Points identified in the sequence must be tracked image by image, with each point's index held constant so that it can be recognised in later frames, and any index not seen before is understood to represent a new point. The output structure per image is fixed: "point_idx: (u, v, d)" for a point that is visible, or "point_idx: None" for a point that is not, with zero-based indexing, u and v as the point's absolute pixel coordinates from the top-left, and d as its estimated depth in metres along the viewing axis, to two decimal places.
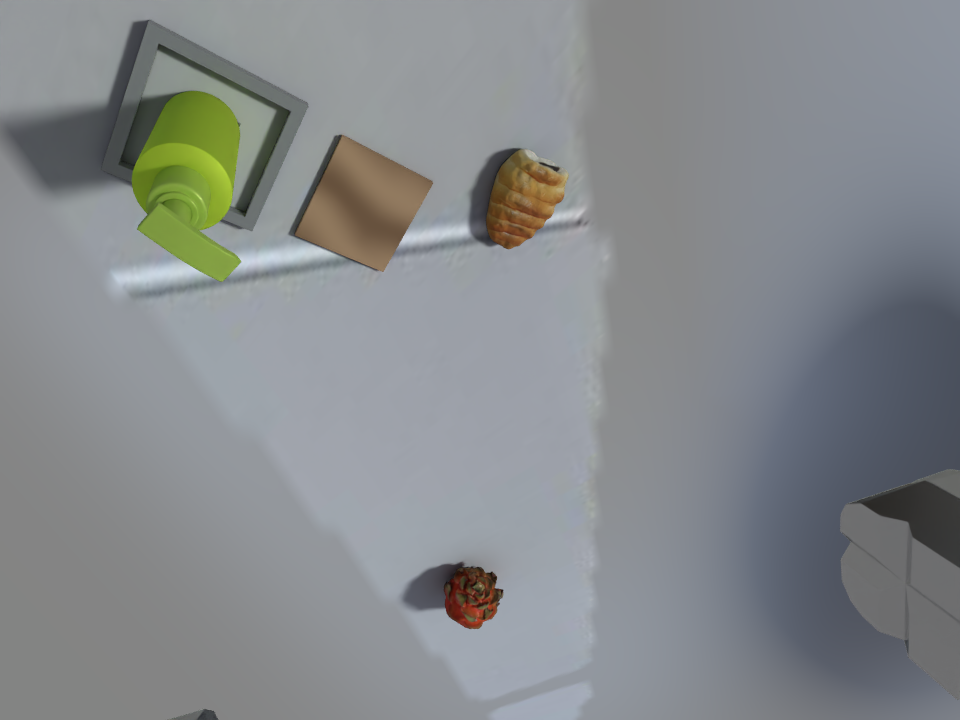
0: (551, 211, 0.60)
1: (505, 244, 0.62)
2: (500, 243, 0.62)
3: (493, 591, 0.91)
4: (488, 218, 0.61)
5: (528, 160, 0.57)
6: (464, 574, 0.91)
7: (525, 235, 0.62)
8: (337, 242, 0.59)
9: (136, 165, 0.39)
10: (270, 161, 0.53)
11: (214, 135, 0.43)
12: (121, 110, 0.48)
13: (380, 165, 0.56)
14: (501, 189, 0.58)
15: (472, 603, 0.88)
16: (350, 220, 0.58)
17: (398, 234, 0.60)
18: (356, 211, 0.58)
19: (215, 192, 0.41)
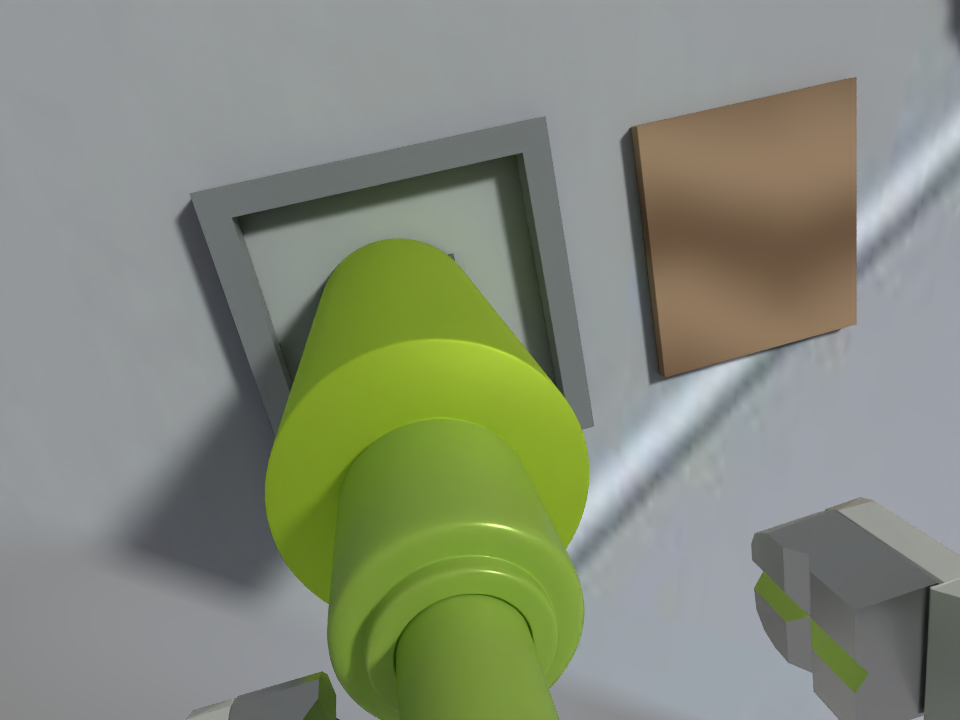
0: None
1: None
2: None
3: None
4: None
5: None
6: None
7: None
8: (745, 332, 0.26)
9: (272, 525, 0.11)
10: (546, 277, 0.23)
11: (418, 289, 0.14)
12: (260, 386, 0.22)
13: (737, 124, 0.24)
14: None
15: None
16: (744, 274, 0.26)
17: (845, 232, 0.26)
18: (745, 250, 0.25)
19: (525, 440, 0.11)
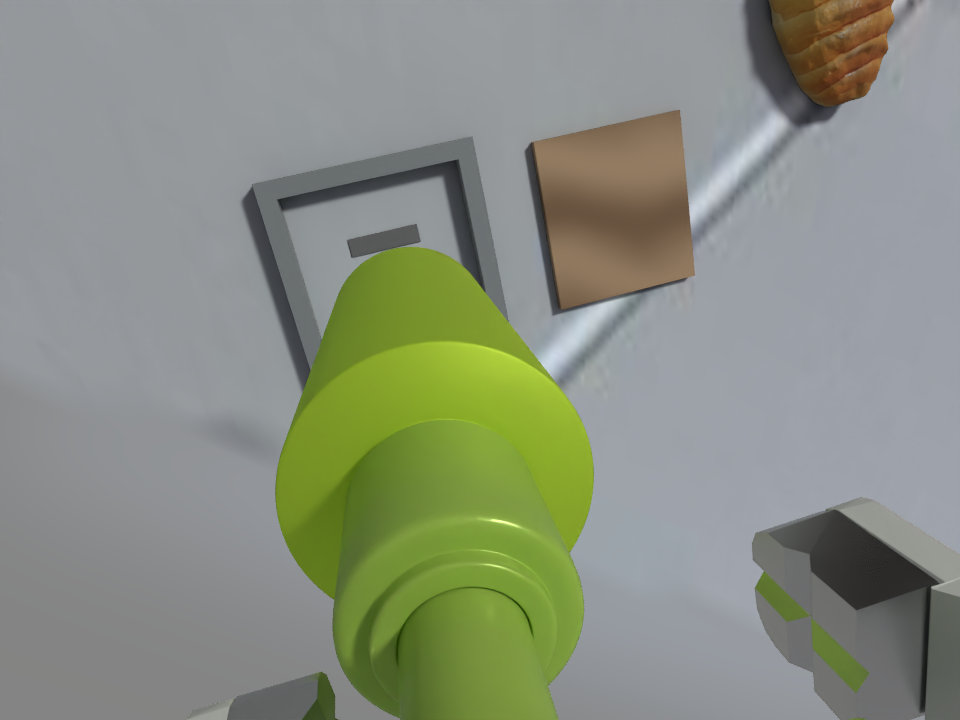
0: None
1: (858, 90, 0.37)
2: (849, 97, 0.38)
3: None
4: (806, 81, 0.38)
5: None
6: None
7: (878, 53, 0.36)
8: (615, 280, 0.39)
9: (283, 523, 0.11)
10: (476, 239, 0.36)
11: (427, 295, 0.15)
12: (292, 307, 0.35)
13: (601, 140, 0.37)
14: (798, 23, 0.35)
15: None
16: (612, 239, 0.38)
17: (681, 212, 0.39)
18: (611, 223, 0.38)
19: (530, 441, 0.11)
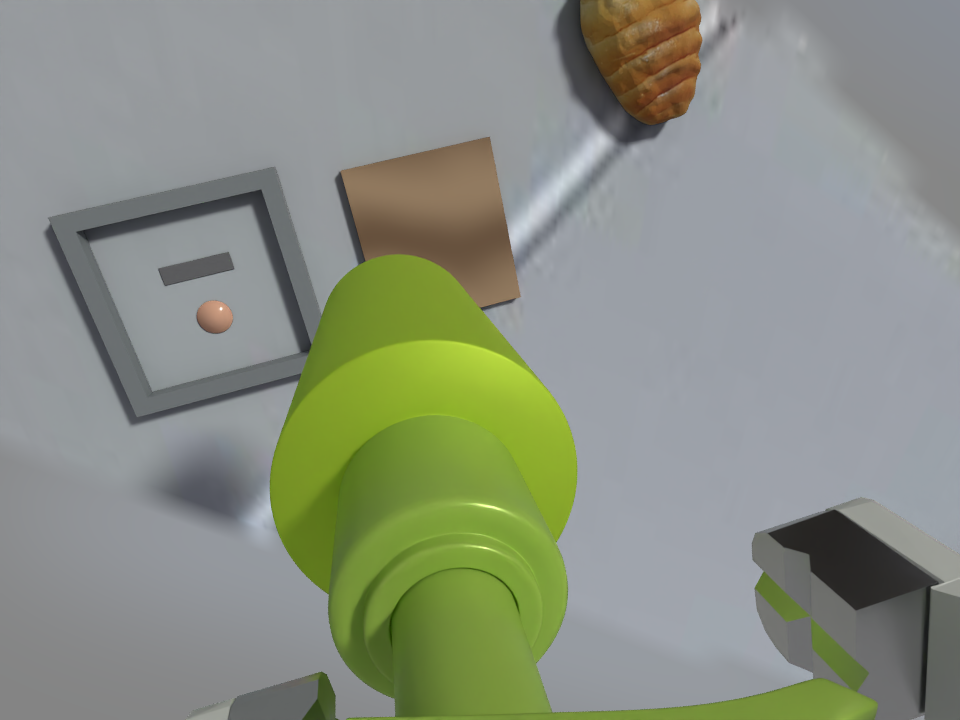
0: (694, 6, 0.35)
1: (675, 109, 0.38)
2: (667, 116, 0.38)
3: None
4: (624, 102, 0.38)
5: None
6: None
7: (689, 73, 0.37)
8: None
9: (277, 517, 0.12)
10: (287, 267, 0.37)
11: (416, 298, 0.15)
12: (103, 336, 0.36)
13: (410, 168, 0.37)
14: (605, 47, 0.36)
15: None
16: None
17: (500, 235, 0.39)
18: (429, 248, 0.39)
19: (516, 436, 0.12)
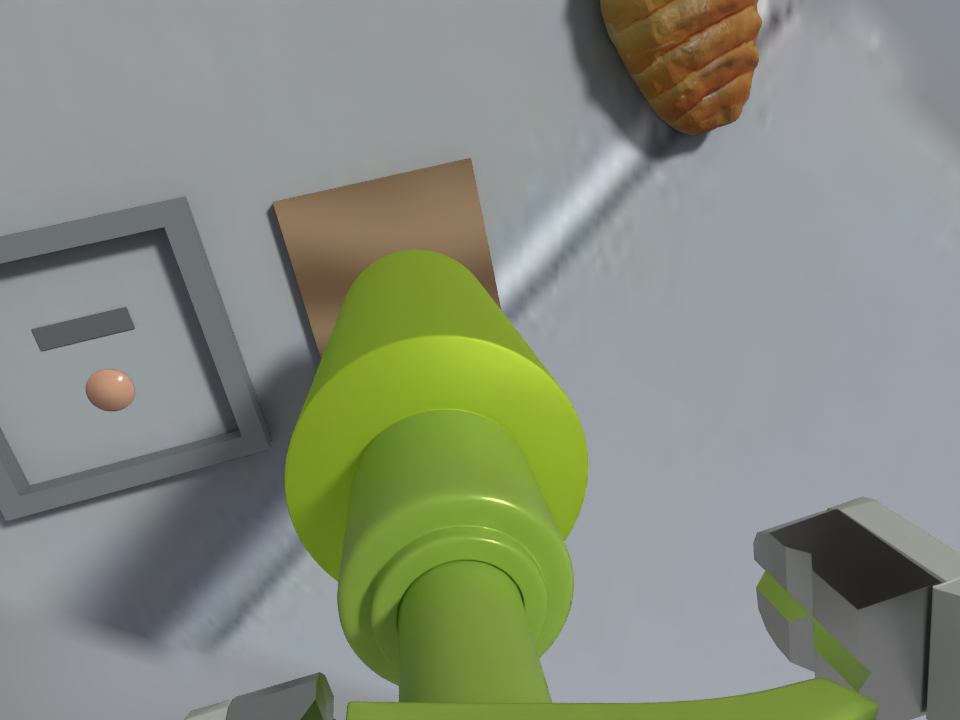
0: None
1: (725, 115, 0.29)
2: (715, 123, 0.29)
3: None
4: (658, 106, 0.29)
5: None
6: None
7: (745, 66, 0.28)
8: None
9: (291, 507, 0.12)
10: (203, 327, 0.28)
11: (432, 294, 0.15)
12: None
13: (366, 199, 0.28)
14: (633, 35, 0.27)
15: None
16: None
17: (485, 284, 0.31)
18: None
19: (527, 432, 0.12)
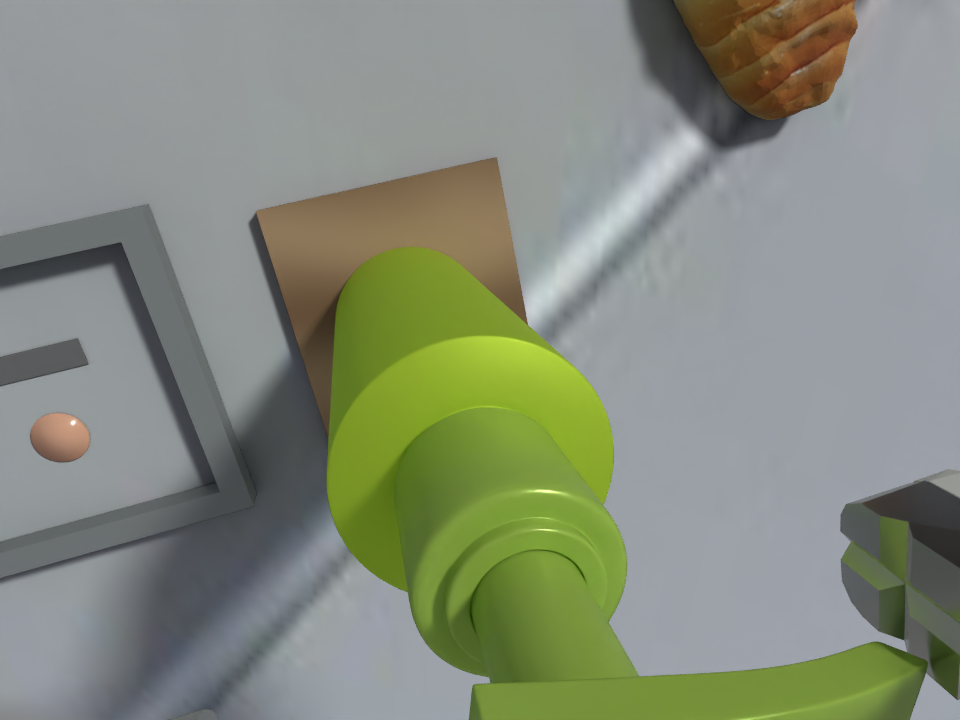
0: None
1: (815, 94, 0.24)
2: (802, 105, 0.24)
3: None
4: (733, 86, 0.24)
5: None
6: None
7: (842, 34, 0.23)
8: None
9: (333, 505, 0.12)
10: (171, 363, 0.23)
11: (449, 293, 0.16)
12: None
13: (370, 207, 0.23)
14: None
15: None
16: None
17: (512, 308, 0.26)
18: None
19: (560, 426, 0.12)
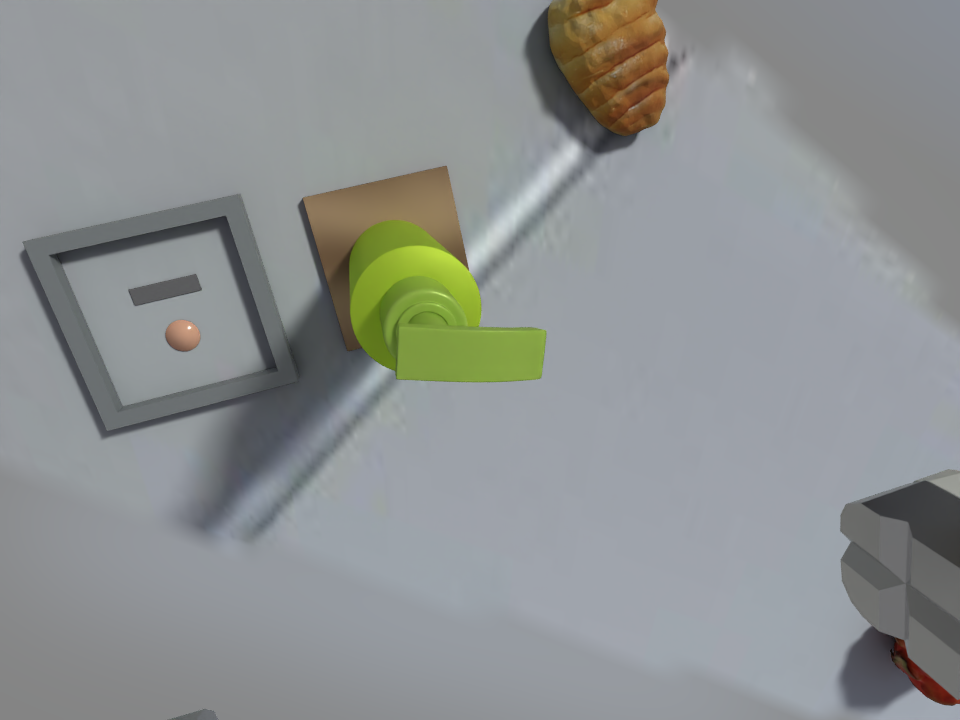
0: (657, 21, 0.37)
1: (647, 120, 0.40)
2: (640, 126, 0.40)
3: None
4: (597, 116, 0.40)
5: None
6: None
7: (658, 84, 0.39)
8: None
9: (353, 321, 0.28)
10: (252, 288, 0.39)
11: (409, 235, 0.31)
12: (74, 353, 0.38)
13: (370, 195, 0.39)
14: (574, 67, 0.38)
15: None
16: None
17: (458, 259, 0.41)
18: None
19: (453, 287, 0.28)
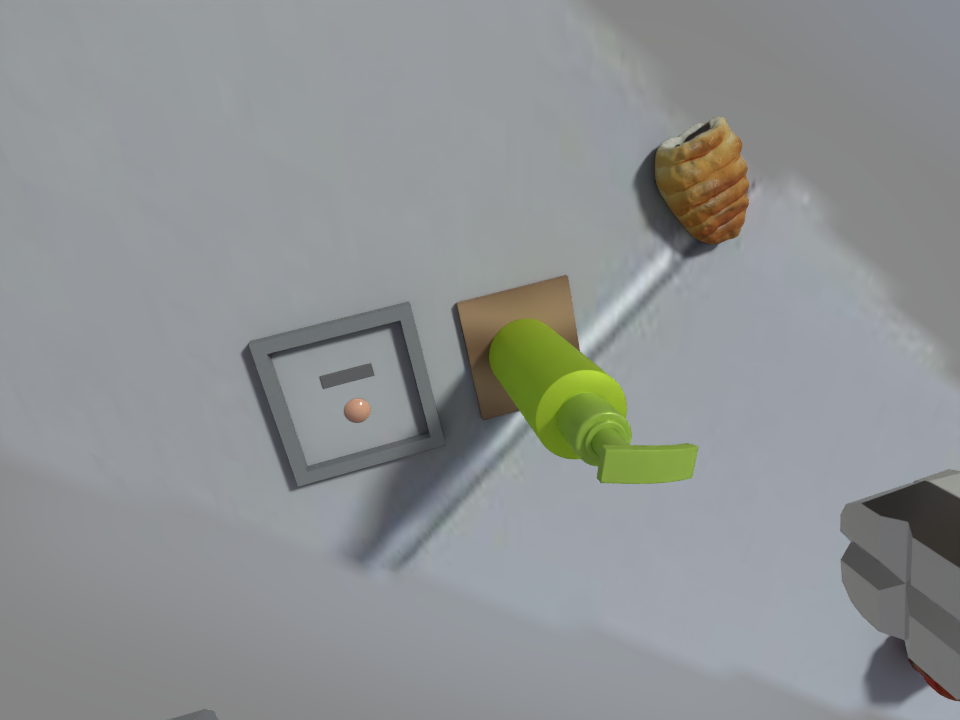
0: (743, 164, 0.47)
1: (730, 234, 0.50)
2: (725, 239, 0.50)
3: None
4: (690, 231, 0.50)
5: (674, 150, 0.46)
6: None
7: (741, 208, 0.49)
8: None
9: (537, 424, 0.38)
10: (415, 374, 0.49)
11: (564, 351, 0.41)
12: (279, 428, 0.48)
13: (508, 300, 0.49)
14: (676, 198, 0.48)
15: None
16: None
17: None
18: None
19: (609, 398, 0.38)
